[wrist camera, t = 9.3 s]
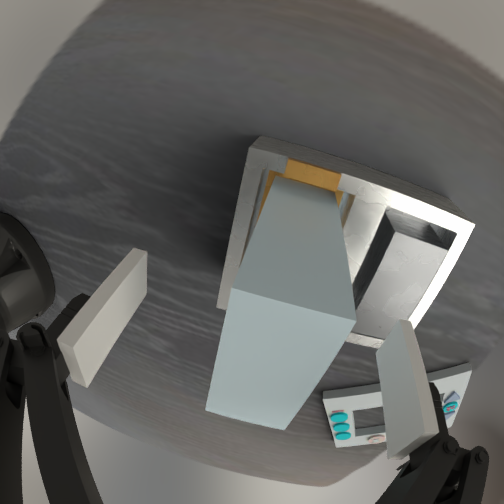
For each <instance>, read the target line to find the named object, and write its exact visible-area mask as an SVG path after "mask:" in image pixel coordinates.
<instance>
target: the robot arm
mask: <svg viewBox="0 0 504 504" xmlns="http://www.w3.org/2000/svg"><path fill="white" fill-rule="evenodd" d="M146 294H147V252H146V251H143V250H140V249H136V248H133V249H132V250H131V251H130V253H129V254H128V255H127V256H126V257H125V258H124V259H123V260H122V261H121V263H120V264H119V265H118V266H117V267H116V268H115V269H114V270H113V272H112V273H111V274H110V275H109V276H108V277H107V278H106V280H105V281H104V282H103V283H102V284H101V285H100V287H99V288H98V289H97V290H96V291H95V293H94V294H93V295H92V296H91V297H90V296H88V295H85V294H83V293H82V294H80V295H78V296H77V297H75V298H73V299H72V300H71V301H70V302H69V304H68V305H67V306H66V308H64V309H63V311H62V312H61V314H59V315H58V317H57V318H56V319H55V320H54V321H53V323H52V324H51V325H50V326H49V327H48V329H47V330H45V328H44V327H43V326H42V325H41V324H39V323H36V322H30V323H27V322H28V321H30V320H31V319H35V318H38V317H40V316H41V315H42V314H43V313H44V312H45V311H46V310H47V309H48V308H49V307H50V306H51V305H52V303H53V301H54V297H55V287H54V281H53V277H52V274H51V271H50V268H49V266H48V264H47V261H46V259H45V257H44V255H43V253H42V252H41V250H40V248H39V246H38V245H37V243H36V242H35V240H34V239H33V238H32V236H31V235H30V234H29V232H28V231H27V230H26V229H25V228H24V227H23V226H22V225H21V224H20V223H19V222H18V221H17V220H15V219H14V218H13V217H11V216H9V215H7V214H4V213H0V504H23V497H22V473H21V472H22V469H21V468H22V466H21V465H22V461H21V460H22V457H21V456H22V432H23V419H24V408H25V399H27V407H28V414H29V420H30V427H31V432H32V437H33V442H34V447H35V452H36V456H37V461H38V465H39V469H40V473H41V476H42V480H43V483H44V487H45V490H46V493H47V496H48V500H49V503H50V504H103V502H102V499H101V497H100V494H99V492H98V489H97V487H96V484H95V481H94V479H93V476H92V473H91V471H90V468H89V465H88V462H87V459H86V456H85V452H84V449H83V446H82V443H81V439H80V436H79V432H78V429H77V425H76V421H75V417H74V413H73V409H72V404H71V400H70V395H69V391H68V386H67V382H66V378H67V377H68V375H69V374H70V375H71V378H72V380H73V381H74V382H76V383H78V384H80V385H82V386H84V387H86V388H88V386H89V384H90V383H91V381H92V379H93V378H94V376H95V374H96V373H97V371H98V369H99V368H100V366H101V364H102V363H103V361H104V359H105V358H106V356H107V355H108V353H109V351H110V350H111V348H112V346H113V345H114V343H115V342H116V340H117V339H118V337H119V335H120V334H121V332H122V331H123V329H124V328H125V326H126V325H127V323H128V321H129V320H130V318H131V317H132V315H133V314H134V312H135V311H136V309H137V308H138V306H139V305H140V303H141V302H142V300H143V299H144V297H145V296H146ZM25 323H27V324H25ZM23 324H25V325H23ZM21 325H23V326H22V327H21V328H20V329H19V330H18V332H17V336H16V338H17V340H13V339H10V337H9V335H8V333H9V332H10V331H12V330H14V329H16V328H18V327H20V326H21ZM376 358H377V364H378V371H379V378H380V386H381V393H382V402H383V410H384V420H385V430H386V442H387V456H388V459H391V460H398V459H403V458H404V457H406V456H407V455H409V456H410V460H409V461H407V462H406V463H404V464H403V465H401V466H400V467H398V468H397V470H400V469H401V468H402V469H401V471H400V472H399V474H398V475H397V476H396V478H395V479H394V480H393V482H392V483H391V484H390V486H389V487H388V488H387V490H386V491H385V492H384V493H383V495H382V496H381V497H380V499H379V500H378V501H377V502H376V503H375V504H481V501H482V496H483V492H484V487H485V482H486V477H487V471H488V465H489V456H488V453H487V451H486V450H485V449H484V448H483V447H481V446H477V447H475V448H473V449H472V450H466V449H464V448H460V447H459V444H458V442H457V441H456V440H455V438H453V437H452V436H449V434H448V429H447V424H446V419H445V415H444V410H443V409H442V408H443V406H442V402H441V398H440V394H439V391H438V389H437V387H436V386H435V384H434V382H428V379H427V375H426V371H425V367H424V364H423V360H422V356H421V353H420V349H419V346H418V343H417V339H416V336H415V333H414V330H413V326H412V323H411V321H407V320H403V319H399V320H398V321H397V323H396V324H395V326H394V327H393V329H392V330H391V332H390V333H389V335H388V336H387V338H386V339H385V341H384V342H383V344H382V345H381V346H380V348H379V349H378V351H377V352H376Z"/></svg>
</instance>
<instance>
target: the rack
mask: <svg viewBox="0 0 504 504" xmlns="http://www.w3.org/2000/svg"><path fill="white" fill-rule="evenodd" d="M275 175H276V176H280V177H283V178H287V179H291V180H294V181H298V182H301V183H305V184H308V185H311V186H315V187H318V188H321V189H325V190H328V191H331V192H335V195H336V200H337V204H338V209H339V214H340V219H341V224H342V230H343V235H344V240H345V246H346V252H347V258H348V264H349V270H350V276H351V283H352V290H353V297H354V304H355V312H356V320H357V321H356V323H355V325H354V327H353V328H352V330H351V332H350V333H349V335H348V337H347V338H346V340H345V341H346V342H351V343H355V344H360V345H364V346H369V347H374V348H378V349H379V348H380V346H381V345H382V344H383V342H384V341H385V339H386V338H387V336H388V335H389V333H390V332H391V330H392V329H393V327H394V326H395V324H396V323H397V321H398V320H399V319H403V320H407V321H411V323H412V326H413V330H414V328H415V327H416V326H417V324H418V323H419V321H420V320H421V318H422V317H423V315H424V314H425V312H426V311H427V309H428V308H429V306H430V304H431V303H432V301H433V300H434V298H435V297H436V295H437V293H438V292H439V290H440V288H441V287H442V285H443V283H444V282H445V280H446V278H447V277H448V275H449V273H450V271H451V270H452V268H453V266H454V264H455V263H456V261H457V259H458V257H459V255H460V253H461V251H462V250H463V248H464V246H465V244H466V242H467V240H468V238H469V236H470V234H471V232H472V230H473V228H474V226H475V224H474V223H473V222H472V221H471V220H470V219H469V218H468V217H467V216H466V215H465V214H464V213H463V212H462V211H461V210H460V209H459V208H458V207H457V206H456V205H455V204H454V203H453V202H452V201H451V200H450V199H448V198H446V197H444V196H441V195H439V194H437V193H434V192H432V191H430V190H427V189H425V188H422V187H420V186H418V185H415V184H413V183H410V182H408V181H405V180H402V179H400V178H397V177H395V176H392V175H389V174H387V173H384V172H381V171H378V170H376V169H373V168H370V167H367V166H364V165H361V164H358V163H356V162H353V161H350V160H346V159H343V158H340V157H337V156H334V155H331V154H328V153H324V152H321V151H318V150H314V149H311V148H307V147H304V146H300V145H297V144H293V143H289V142H286V141H282V140H278V139H274V138H270V137H266V136H262V135H261V136H260V137H259V138H258V139H257V140H256V141H255V142H254V143H253V144H252V145H251V146H250V147H249V150H248V155H247V159H246V164H245V168H244V173H243V178H242V182H241V187H240V192H239V196H238V201H237V206H236V211H235V216H234V220H233V225H232V230H231V235H230V240H229V245H228V250H227V255H226V260H225V265H224V270H223V275H222V281H221V286H220V291H219V296H218V301H217V308H220V309H224V310H227V307H228V302H229V298H230V293H231V289H232V286H233V283H234V281H235V278H236V275H237V273H238V270H239V268H240V265H241V263H242V260H243V257H244V255H245V252H246V250H247V247H248V245H249V242H250V239H251V237H252V234H253V232H254V229H255V227H256V224H257V221H258V219H259V216H260V214H261V211H262V209H263V206H264V203H265V201H266V198H267V196H268V193H269V191H270V188H271V186H272V183H273V181H274V178H275Z"/></svg>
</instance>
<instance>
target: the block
mask: <svg viewBox="0 0 504 504" xmlns="http://www.w3.org/2000/svg"><path fill="white" fill-rule="evenodd" d="M356 321H357V320H356V312H355V304H354V297H353V290H352V283H351V276H350V270H349V264H348V258H347V252H346V246H345V240H344V235H343V230H342V224H341V219H340V214H339V209H338V204H337V200H336V195H335V192H331V191H328V190H325V189H321V188H318V187H315V186H311V185H308V184H305V183H301V182H298V181H294V180H291V179H287V178H283V177H280V176H276V175H275V178H274V181H273V183H272V186H271V188H270V191H269V193H268V196H267V198H266V201H265V203H264V206H263V209H262V211H261V214H260V216H259V219H258V221H257V224H256V227H255V229H254V232H253V234H252V237H251V239H250V242H249V245H248V247H247V250H246V252H245V255H244V257H243V260H242V263H241V265H240V268H239V270H238V273H237V275H236V278H235V281H234V283H233V286H232V289H231V293H230V298H229V302H228V307H227V311H226V316H225V320H224V325H223V330H222V334H221V339H220V343H219V348H218V353H217V357H216V362H215V366H214V371H213V376H212V380H211V385H210V390H209V395H208V399H207V404H206V409H205V410H206V411H209V412H213V413H216V414H220V415H223V416H227V417H230V418H234V419H238V420H242V421H246V422H250V423H254V424H258V425H263V426H267V427H272V428H276V429H281V430H285V428H286V427H287V426H288V424H289V423H290V422H291V420H292V419H293V418H294V416H295V415H296V414H297V412H298V411H299V410H300V408H301V407H302V405H303V404H304V403H305V401H306V400H307V398H308V397H309V395H310V394H311V393H312V391H313V390H314V388H315V387H316V385H317V384H318V382H319V381H320V379H321V378H322V376H323V375H324V373H325V372H326V370H327V369H328V367H329V366H330V364H331V362H332V361H333V359H334V358H335V356H336V355H337V353H338V351H339V350H340V348H341V347H342V345H343V343H344V342H345V340H346V338H347V337H348V335H349V333H350V332H351V330H352V328H353V327H354V325H355V323H356Z"/></svg>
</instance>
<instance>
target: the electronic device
mask: <svg viewBox="0 0 504 504" xmlns="http://www.w3.org/2000/svg"><path fill="white" fill-rule="evenodd" d="M471 372H472V369H471V366H470V363H465V364H462V365H458V366H455V367H451V368H447V369H443V370H439V371H435V372H431V373H427V374H426V375H427V379H428V382H434V384H435V386H436V387H437V389H438V391H439V394H441V395H440V398H441V402H442V406H443V408H442V409H443V410H444V415H445V419H446V424H447V428H449V427H451V426H452V424H453V421H454V419H455V416H456V414H457V411H458V409H459V406H460V404H461V401H462V398H463V396H464V393H465V390H466V387H467V384H468V381H469V378H470V375H471ZM323 402H324V406H325V409H326V413H327V416H328V420H329V423H330V427H331V430H332V434H333V437H334V441H335V445H336V448H337V447H347V446H356V445H364V444H376V443H380V442H385V441H386V430H385V425H380V426H374V427H367V428H360V429H355V424H354V417H353V410H360V409H367V408H374V407H380V406H383V402H382V393H381V386H380V383H378V384H372V385H366V386H359V387H352V388H345V389H337V390H329V391H323Z"/></svg>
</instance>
